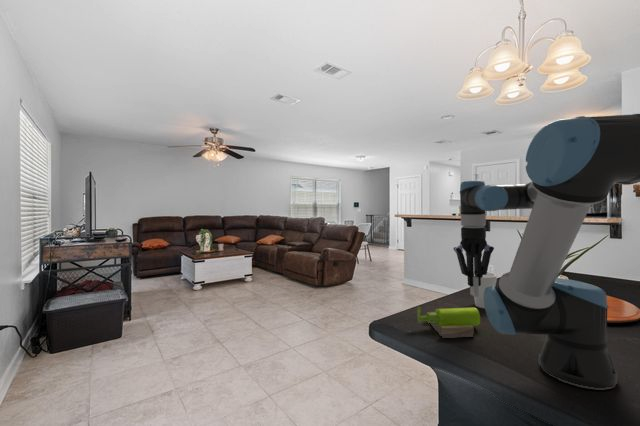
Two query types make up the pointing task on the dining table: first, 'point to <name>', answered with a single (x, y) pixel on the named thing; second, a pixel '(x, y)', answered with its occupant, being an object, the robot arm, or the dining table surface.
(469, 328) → the cradle
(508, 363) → the dining table surface
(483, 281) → the foam cup
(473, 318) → the soap dispenser
